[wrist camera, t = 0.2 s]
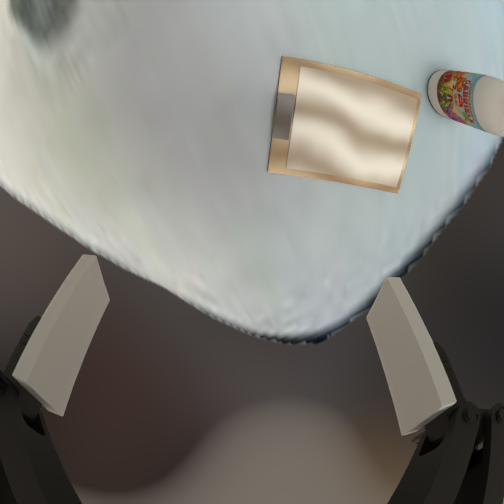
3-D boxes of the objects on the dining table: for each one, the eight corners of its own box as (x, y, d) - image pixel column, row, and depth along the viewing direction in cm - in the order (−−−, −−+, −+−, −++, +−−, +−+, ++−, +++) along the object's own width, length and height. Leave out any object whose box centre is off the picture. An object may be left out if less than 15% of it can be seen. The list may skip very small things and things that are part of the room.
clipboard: (282, 56, 28) (283, 55, 26) (418, 94, 29) (425, 95, 27) (267, 170, 37) (268, 174, 35) (395, 191, 38) (400, 196, 36)
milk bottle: (452, 65, 25) (552, 83, 8) (467, 110, 28) (560, 149, 12) (418, 75, 27) (523, 94, 10) (435, 123, 31) (532, 169, 14)
